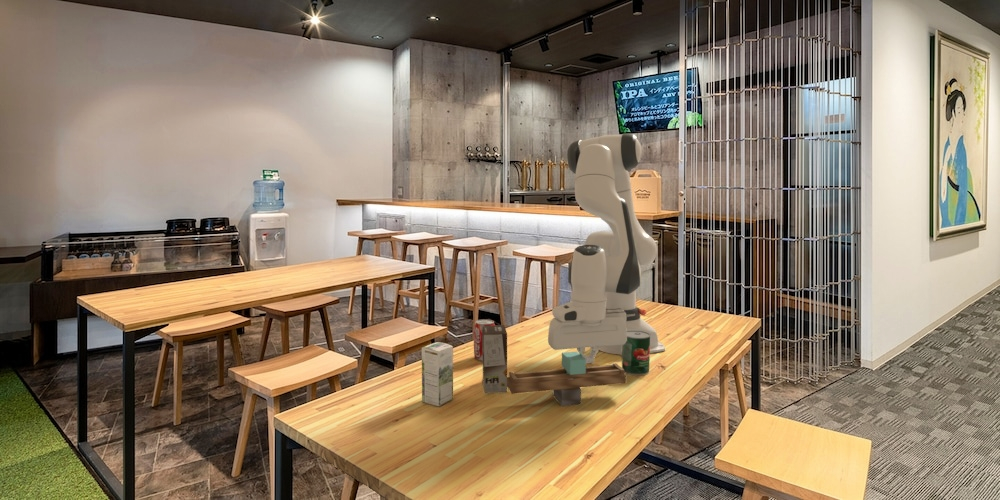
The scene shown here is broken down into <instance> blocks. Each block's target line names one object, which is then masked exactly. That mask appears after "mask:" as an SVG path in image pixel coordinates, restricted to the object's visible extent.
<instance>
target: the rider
mask: <svg viewBox="0 0 1000 500" xmlns="http://www.w3.org/2000/svg"><path fill="white" fill-rule="evenodd" d="M561 367H562V369H565V370H566V371H567V374H570V375H573V374H585V373H586V367H587V364H586V359H585V358H584V357H582V356H581V355H580V354H579V352H578V351H569V352H568V351H567V352H566V351H565V352H561Z"/></svg>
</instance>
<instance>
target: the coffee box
mask: <svg viewBox="0 0 1000 500" xmlns="http://www.w3.org/2000/svg"><path fill="white" fill-rule="evenodd" d="M482 358H483V361H482V384H483V385H482V386H483V393H484V394H501V393H502V394H503V393H504V394H506V393H508V387H507V377H508V332H507V329H506V326H505V325H503V324H499V325H498V324H495V325H491V326H482Z"/></svg>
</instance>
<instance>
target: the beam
mask: <svg viewBox="0 0 1000 500" xmlns="http://www.w3.org/2000/svg"><path fill="white" fill-rule="evenodd" d="M619 384H620V385H621V384H627V373H625V372H624V369H623V368H622V366H620V365H619V364H618V363H612V364H607V365H596V366H594V365H593V366H586V373H585V374H573V375H570V374H567V371H566V370H565V369H564V368H561V369H549V370H548V369H547V370H537V371H526V372H525V371H523V372H513V371H511V372H510V371H509V372H508V376H507V390H509V392H510V393H511V394H512V395H513V394H514V395H515V394H524V393H525V394H526V393H535V392H546V391H552V396H553V397H554V399H555V400H556V401H557V402H558V403H559V405H560V406H561V407H567V406H568V407H570V406H578V405H582V388H590V387H599V386H609V385H610V386H611V385H619Z"/></svg>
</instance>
